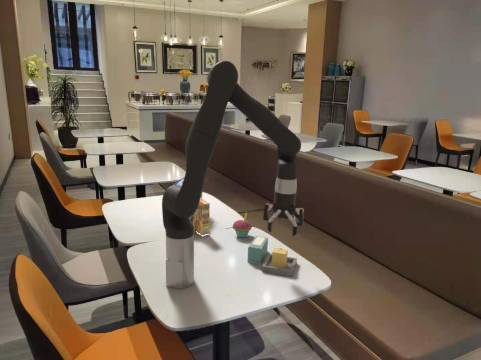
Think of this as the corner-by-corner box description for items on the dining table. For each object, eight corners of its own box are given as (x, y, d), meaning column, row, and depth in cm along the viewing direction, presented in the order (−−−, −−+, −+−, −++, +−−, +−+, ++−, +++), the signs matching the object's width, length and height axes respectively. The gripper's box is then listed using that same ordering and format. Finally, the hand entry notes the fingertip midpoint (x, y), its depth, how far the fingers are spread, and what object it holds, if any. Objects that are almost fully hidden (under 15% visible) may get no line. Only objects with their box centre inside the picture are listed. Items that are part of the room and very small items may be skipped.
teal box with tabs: (260, 264, 142) (260, 248, 141) (247, 261, 144) (248, 247, 142) (267, 251, 154) (268, 237, 152) (255, 249, 155) (256, 235, 153)
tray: (291, 276, 134) (292, 271, 133) (261, 271, 137) (262, 266, 136) (296, 263, 144) (296, 258, 143) (268, 258, 147) (268, 253, 146)
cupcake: (254, 234, 170) (255, 209, 167) (245, 241, 163) (246, 214, 160) (238, 230, 174) (239, 206, 171) (228, 236, 167) (229, 211, 164)
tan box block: (284, 269, 138) (285, 253, 136) (271, 267, 139) (272, 251, 137) (286, 264, 141) (287, 249, 140) (273, 262, 143) (274, 247, 141)
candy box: (210, 235, 168) (210, 202, 164) (201, 237, 165) (201, 204, 161) (200, 229, 175) (200, 197, 171) (192, 231, 172) (192, 199, 169)
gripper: (263, 190, 131) (260, 234, 135) (304, 195, 127) (300, 240, 131) (268, 185, 138) (265, 227, 142) (307, 190, 134) (303, 233, 138)
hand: (282, 233), depth 136 cm, fingers open, 8 cm apart
